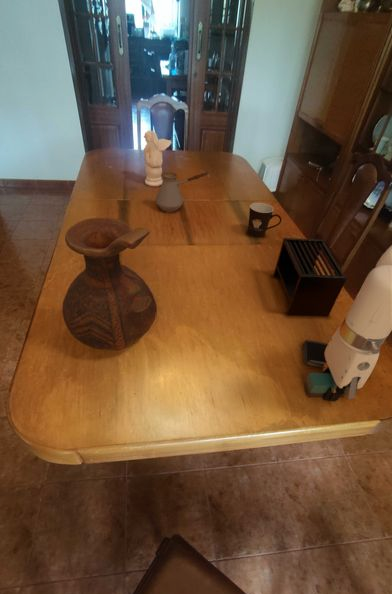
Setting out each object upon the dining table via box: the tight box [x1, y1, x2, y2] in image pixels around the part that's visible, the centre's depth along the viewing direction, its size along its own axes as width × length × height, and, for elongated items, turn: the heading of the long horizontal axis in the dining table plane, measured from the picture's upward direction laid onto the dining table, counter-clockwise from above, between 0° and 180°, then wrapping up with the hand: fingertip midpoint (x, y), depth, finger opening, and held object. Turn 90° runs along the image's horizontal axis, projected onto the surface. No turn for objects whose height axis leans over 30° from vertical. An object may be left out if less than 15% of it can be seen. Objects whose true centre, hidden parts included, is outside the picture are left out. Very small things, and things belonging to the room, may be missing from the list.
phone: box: [302, 339, 328, 369], centre depth 78 cm, size 8×1×15 cm
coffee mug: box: [247, 202, 282, 239], centre depth 118 cm, size 12×9×10 cm
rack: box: [272, 237, 348, 317], centre depth 92 cm, size 12×20×13 cm, turn 2°
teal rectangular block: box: [304, 372, 359, 399], centre depth 69 cm, size 10×4×4 cm, turn 92°
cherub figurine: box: [143, 130, 172, 187], centre depth 143 cm, size 12×12×22 cm
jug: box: [61, 217, 158, 351], centre depth 70 cm, size 22×22×30 cm
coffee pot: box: [155, 171, 210, 213], centre depth 128 cm, size 21×12×15 cm, turn 87°
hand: (327, 391), depth 70 cm, fingers closed on teal rectangular block, 3 cm apart
